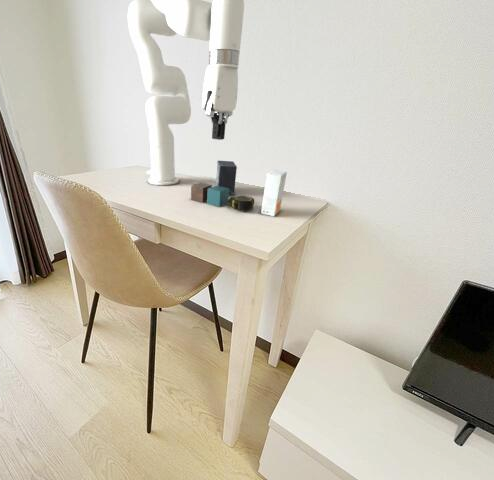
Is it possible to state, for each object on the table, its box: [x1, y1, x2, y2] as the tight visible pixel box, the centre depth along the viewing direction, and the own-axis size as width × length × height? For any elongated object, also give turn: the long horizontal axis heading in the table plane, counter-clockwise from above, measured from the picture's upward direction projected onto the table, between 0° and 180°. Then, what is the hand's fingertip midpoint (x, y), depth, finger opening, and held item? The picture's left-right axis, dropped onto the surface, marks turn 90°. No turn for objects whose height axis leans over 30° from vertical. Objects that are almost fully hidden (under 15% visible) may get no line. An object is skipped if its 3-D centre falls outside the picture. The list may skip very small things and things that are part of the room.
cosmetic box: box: [260, 169, 288, 217], centre depth 76 cm, size 6×4×12 cm
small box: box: [215, 160, 238, 196], centre depth 95 cm, size 11×6×10 cm, turn 179°
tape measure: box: [227, 195, 255, 212], centre depth 79 cm, size 7×7×4 cm
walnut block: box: [190, 181, 213, 203], centre depth 87 cm, size 5×5×5 cm
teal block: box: [206, 185, 230, 208], centre depth 84 cm, size 5×5×5 cm
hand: (218, 138), depth 73 cm, fingers closed
